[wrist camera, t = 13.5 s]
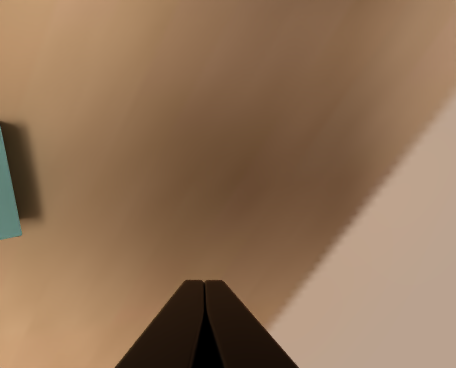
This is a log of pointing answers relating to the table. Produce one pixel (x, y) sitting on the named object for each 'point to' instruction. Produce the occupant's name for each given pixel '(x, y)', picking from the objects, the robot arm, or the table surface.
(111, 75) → the table surface
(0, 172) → the domino
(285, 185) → the table surface
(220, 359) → the robot arm
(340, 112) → the table surface
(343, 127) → the table surface
